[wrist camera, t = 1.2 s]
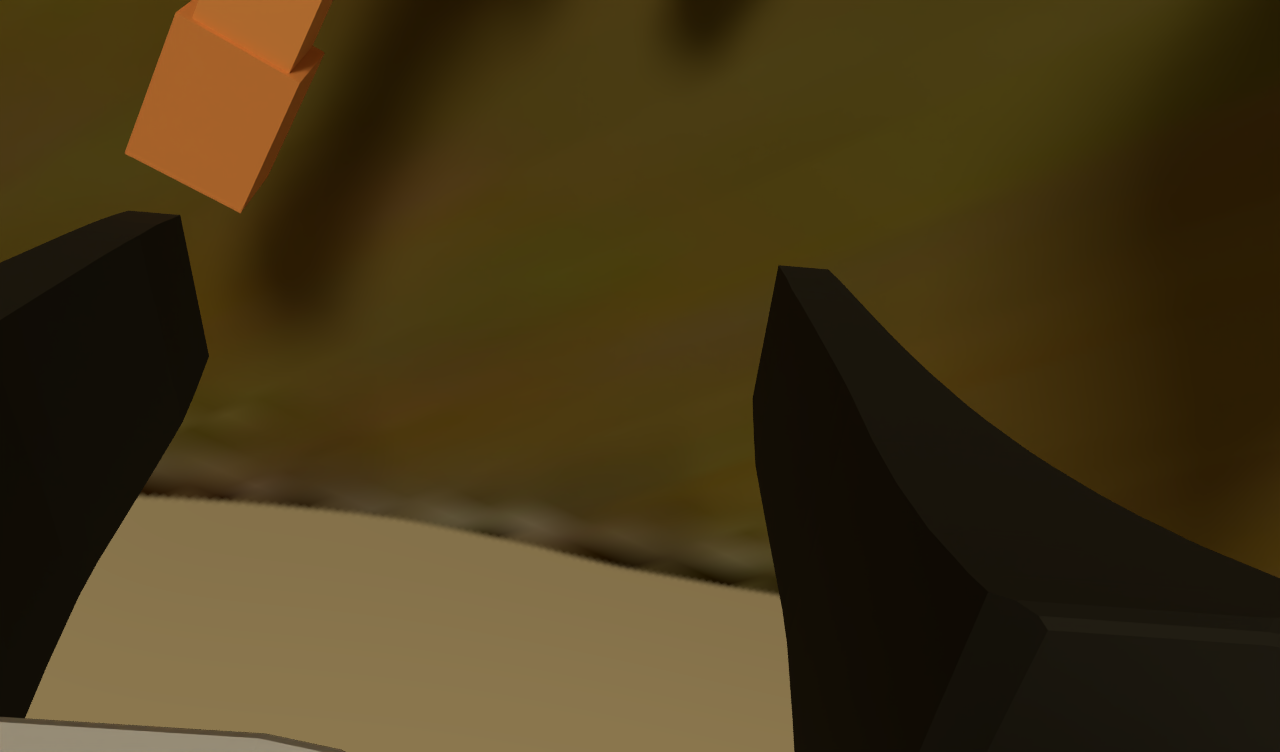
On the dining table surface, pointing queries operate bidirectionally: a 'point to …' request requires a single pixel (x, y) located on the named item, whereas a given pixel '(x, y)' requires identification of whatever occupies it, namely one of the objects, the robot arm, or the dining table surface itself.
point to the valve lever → (228, 93)
